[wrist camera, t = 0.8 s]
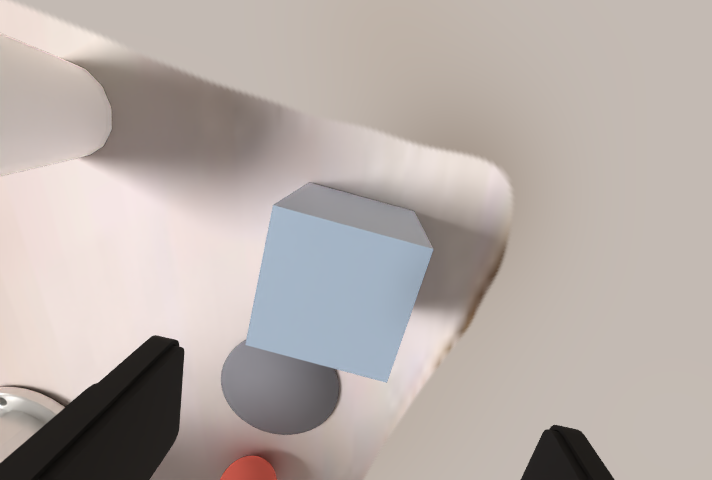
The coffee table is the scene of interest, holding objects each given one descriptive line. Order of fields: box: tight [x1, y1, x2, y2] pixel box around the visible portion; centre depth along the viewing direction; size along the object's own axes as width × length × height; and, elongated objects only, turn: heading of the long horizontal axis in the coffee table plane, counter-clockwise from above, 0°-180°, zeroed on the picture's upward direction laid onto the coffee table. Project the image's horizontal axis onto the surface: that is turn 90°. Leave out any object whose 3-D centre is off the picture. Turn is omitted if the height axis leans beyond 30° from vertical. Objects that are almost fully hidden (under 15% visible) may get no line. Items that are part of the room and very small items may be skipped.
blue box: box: [245, 182, 433, 382], centre depth 21 cm, size 8×8×9 cm
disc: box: [221, 340, 339, 435], centre depth 29 cm, size 10×10×1 cm
